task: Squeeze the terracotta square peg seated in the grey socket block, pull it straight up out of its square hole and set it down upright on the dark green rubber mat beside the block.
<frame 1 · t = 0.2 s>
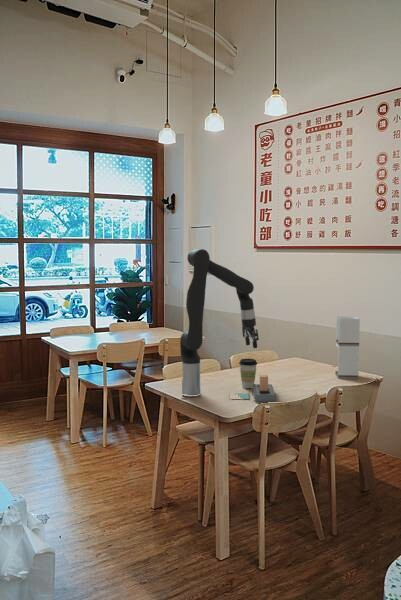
hand: (251, 346, 289), 22 cm above the table, tool pointing down, fingers open, 8 cm apart
coffee cup: (248, 387, 291), on the table
terracotta peg: (263, 397, 272), resting in grey socket block
grey socket block: (263, 396, 272), on the table
green mat: (239, 396, 272), on the table
white banded pillar: (346, 377, 313), on the table
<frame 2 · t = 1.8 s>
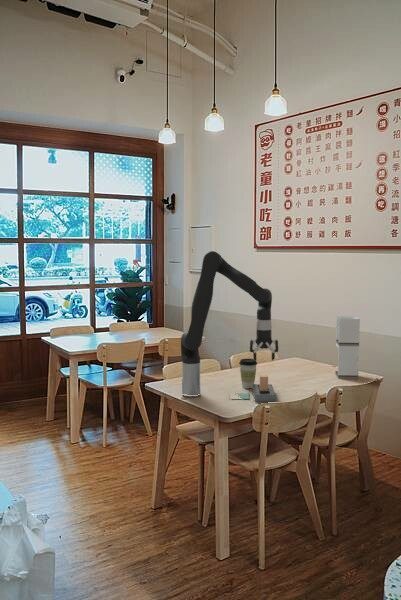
hand: (263, 360, 270), 19 cm above the table, tool pointing down, fingers open, 8 cm apart
nothing on the table moved.
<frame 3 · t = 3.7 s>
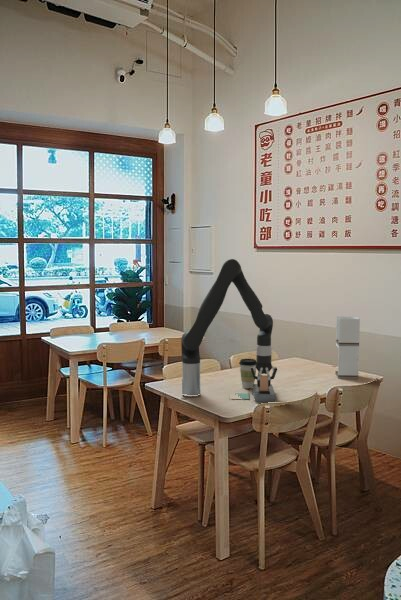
hand: (263, 386, 271), 5 cm above the table, tool pointing down, fingers closed on terracotta peg, 4 cm apart
terracotta peg: (263, 397, 272), resting in grey socket block, touching gripper
everything else where it was.
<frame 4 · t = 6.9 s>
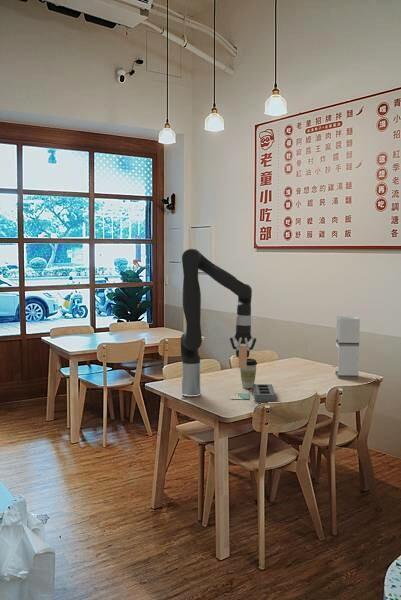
hand: (242, 357, 270), 20 cm above the table, tool pointing down, fingers closed on terracotta peg, 4 cm apart
terracotta peg: (242, 367, 270), point 15 cm above the table, touching gripper
everything else where it was.
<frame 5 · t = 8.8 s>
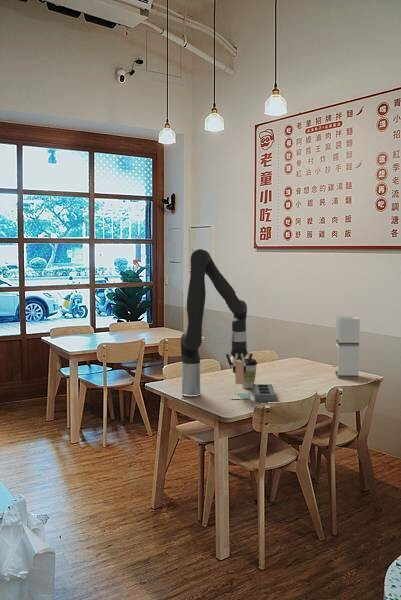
hand: (239, 373, 271), 12 cm above the table, tool pointing down, fingers closed on terracotta peg, 4 cm apart
terracotta peg: (239, 383, 272), point 7 cm above the table, touching gripper
everything else where it was.
when the fingers open (7 cm above the table, at t = 10.2 s): terracotta peg drops 1 cm, resting on green mat.
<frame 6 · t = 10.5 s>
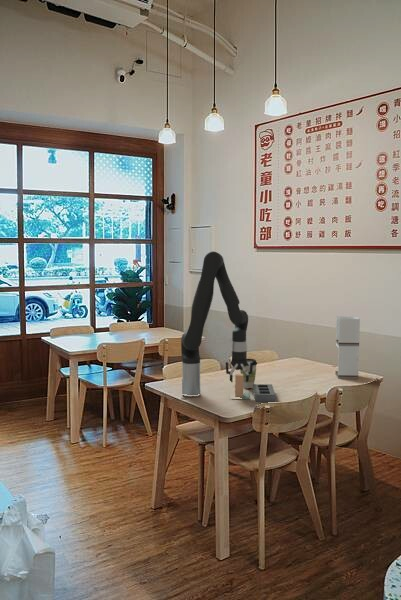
hand: (239, 381, 271), 8 cm above the table, tool pointing down, fingers open, 7 cm apart
terracotta peg: (239, 395, 272), resting on green mat
everything else where it was.
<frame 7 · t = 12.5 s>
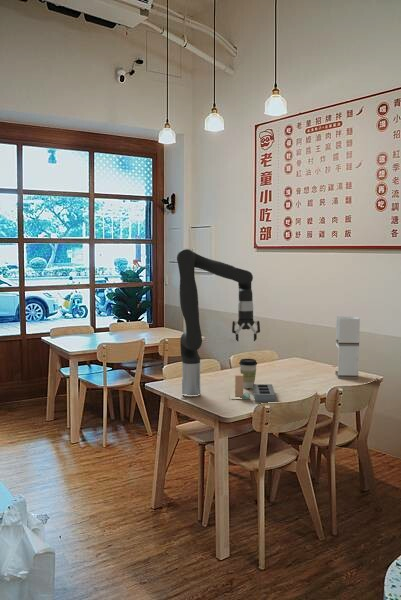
hand: (246, 341, 273), 28 cm above the table, tool pointing down, fingers open, 8 cm apart
nothing on the table moved.
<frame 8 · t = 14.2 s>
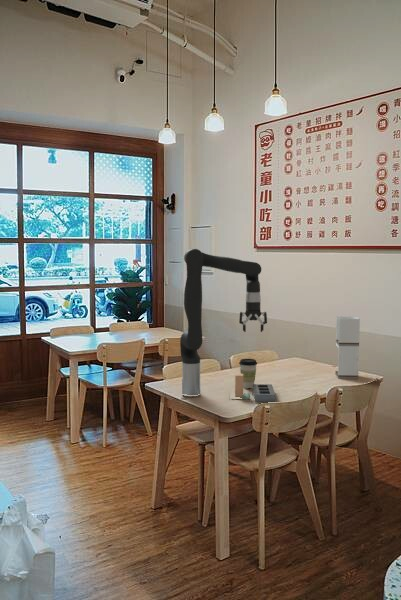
hand: (253, 331, 278), 32 cm above the table, tool pointing down, fingers open, 8 cm apart
nothing on the table moved.
at the end: terracotta peg inside the target area on the green mat (0.0 cm from its centre), point 0.5 cm above the green mat's base; terracotta peg tilted 0°; terracotta peg touching green mat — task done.
